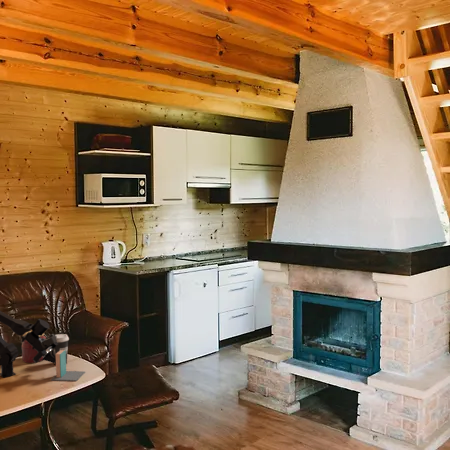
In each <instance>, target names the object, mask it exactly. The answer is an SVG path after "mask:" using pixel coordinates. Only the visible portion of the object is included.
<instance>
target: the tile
mask: <svg viewBox="0 0 450 450" xmlns="http://www.w3.org/2000/svg"><path fill="white" fill-rule="evenodd" d="M55 371H56V373H55V375H56V377H59V378H61V377H62V376H64V375H65V374H66V371H67V363H66V351H65V350H60V351H59V352H58V353H56V364H55Z"/></svg>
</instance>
